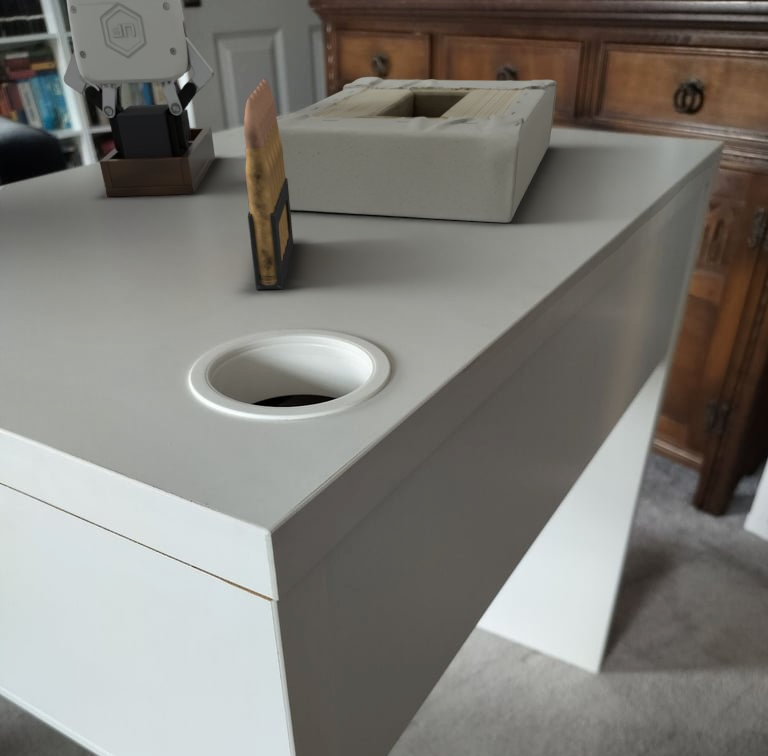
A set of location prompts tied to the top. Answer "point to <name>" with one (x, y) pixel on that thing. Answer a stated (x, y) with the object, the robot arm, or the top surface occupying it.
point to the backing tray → (160, 170)
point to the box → (419, 148)
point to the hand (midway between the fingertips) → (154, 155)
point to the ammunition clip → (267, 191)
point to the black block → (145, 131)
